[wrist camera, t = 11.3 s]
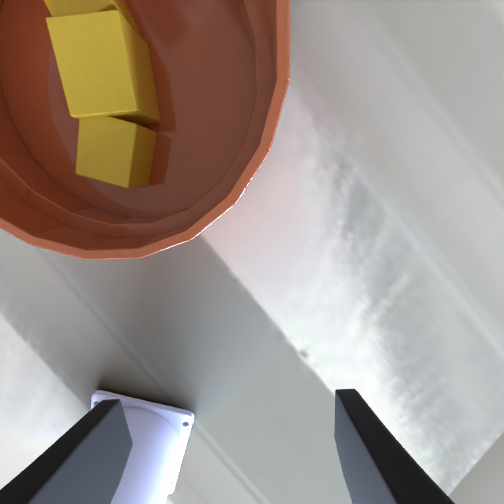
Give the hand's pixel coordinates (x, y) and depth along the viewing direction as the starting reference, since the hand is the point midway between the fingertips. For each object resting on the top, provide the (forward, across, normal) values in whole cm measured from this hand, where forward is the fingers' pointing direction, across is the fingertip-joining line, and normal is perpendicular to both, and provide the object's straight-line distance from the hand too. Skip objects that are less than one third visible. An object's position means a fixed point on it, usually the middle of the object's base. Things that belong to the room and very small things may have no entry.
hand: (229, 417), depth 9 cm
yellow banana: (+9, +5, -12) cm, 16 cm away
